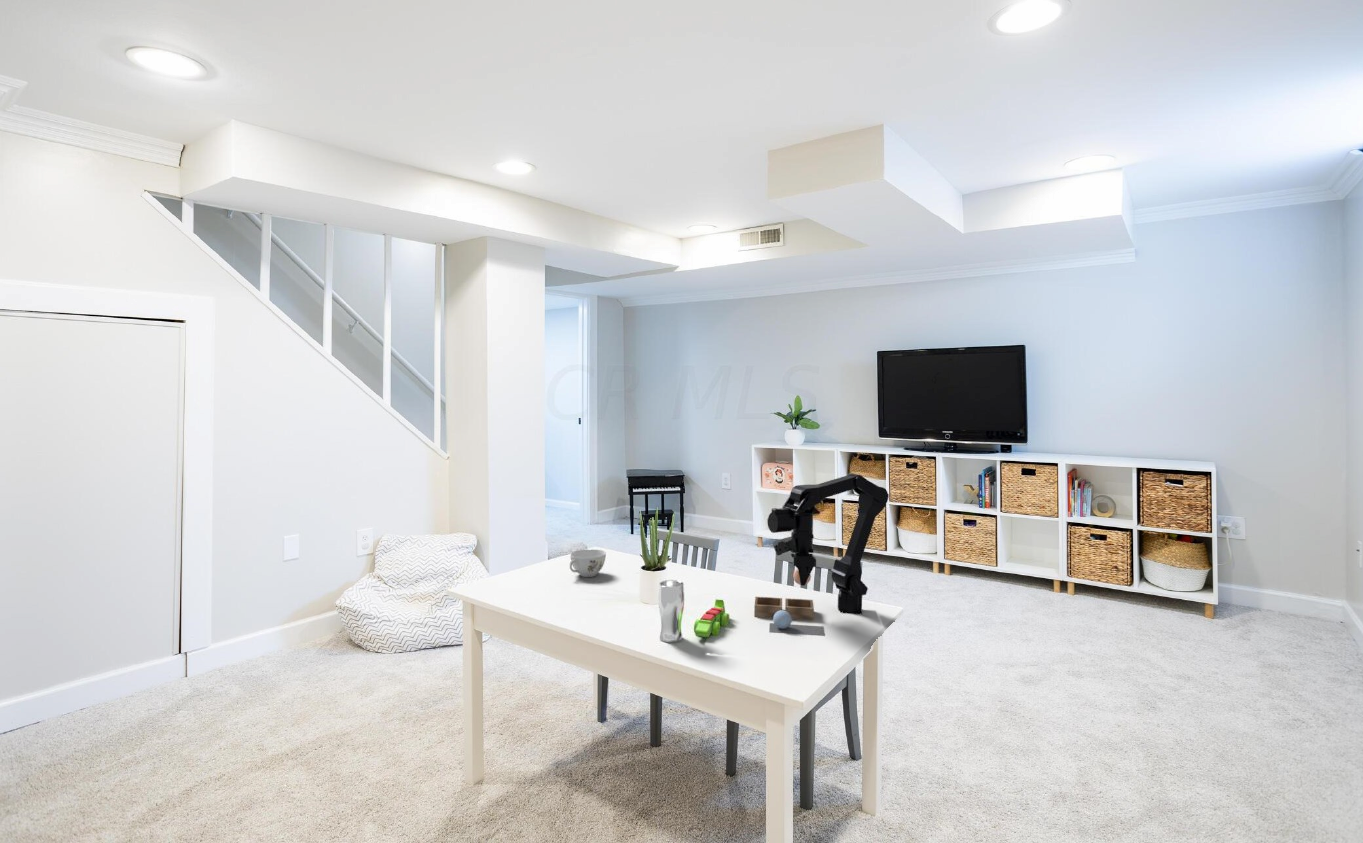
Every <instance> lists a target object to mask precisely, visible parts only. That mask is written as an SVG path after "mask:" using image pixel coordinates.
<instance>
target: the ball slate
mask: <svg viewBox="0 0 1363 843" xmlns="http://www.w3.org/2000/svg"><path fill="white" fill-rule="evenodd" d="M772 620H773V623H774V624H775V625H776V626H777V627H778V628H780V629H786V628H788V627H789V626H790V624H792V619H791V616H790V614H789V613H788V612H787V611H785V610H784V609H782V610H780V611H777V612H776V613H775V615H774V617H773V618H772Z"/></svg>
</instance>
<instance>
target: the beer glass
mask: <svg viewBox="0 0 1363 843" xmlns="http://www.w3.org/2000/svg"><path fill="white" fill-rule="evenodd" d="M658 609H659V616H660V622H661V623H660V624H661V628H660V634H659V639H660V641H662V642H664V643H670V644H672V643H679V642H681V641H682V640H683V633H682V620H683V615H684V610H685V584H684V582H683V581H681V580H678V579H668V580H667V579H666V580H662V581H660V582H659V585H658Z"/></svg>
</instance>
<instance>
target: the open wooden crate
mask: <svg viewBox="0 0 1363 843" xmlns="http://www.w3.org/2000/svg"><path fill="white" fill-rule="evenodd" d="M780 610H783V597H768V596H755V598H754V615H753V616H754V618H767V619H773V617H774V615H775V613H776V612H777V611H780Z"/></svg>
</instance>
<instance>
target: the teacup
mask: <svg viewBox="0 0 1363 843" xmlns="http://www.w3.org/2000/svg"><path fill="white" fill-rule="evenodd" d="M606 555H607V552H606V551H605V550H602V549H579V550H575V551H572V552H571V553H570V562H569V569H570V571H571V572H572V573H577V574H579V575H580V576H581V577H583V578H591V577H596V576H597V575H598V573H600V571H601V570H602V569H603V567H604V565H605V562H606ZM572 567H573V568H572Z"/></svg>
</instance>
